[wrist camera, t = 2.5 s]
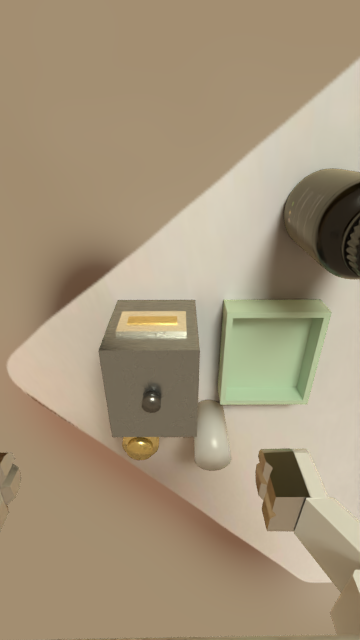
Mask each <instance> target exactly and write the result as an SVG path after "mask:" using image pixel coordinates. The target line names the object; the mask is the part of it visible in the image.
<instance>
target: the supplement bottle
mask: <svg viewBox="0 0 360 640" xmlns="http://www.w3.org/2000/svg"><path fill="white" fill-rule="evenodd" d="M284 223H285V227H286V230H287V232H288V234H289V236H290V237H291V238H292V239H293V240H294V241H295V242H296V243H297V244H298V245H299V246H300V247H301V248H302V249H303V250H304V251H306V252H307V253H308V254H309V255H310V256H311V257H312V258H313V259H314V260H316V261H317V262H318V263H319V264H320V265H321V266H322V267H324V268H325V269H326V270H327V271H329V272H330V273H332V274H333V275H335V276H338V277H341V278H345V279H360V172H355V171H349V170H343V169H333V168H332V169H323V170H319V171H316V172H314V173H312V174H310V175H308V176H307V177H305V178H304V179H303V180H302V181H300V182H299V183H298V184H297V185H296V187H295V188H294V189H293V190H292V192H291V194H290V195H289V197H288V199H287V202H286V205H285V210H284Z"/></svg>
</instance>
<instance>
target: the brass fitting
mask: <svg viewBox="0 0 360 640" xmlns="http://www.w3.org/2000/svg"><path fill="white" fill-rule="evenodd" d="M122 446H123V449H124V450H125V451H126V452H127V454H128V455H129V456H130V457H131V458H133V459H136V460H145V459H148V458H149V457H151V455H153V454H154V453H155V452H156V451H157V450H158V446H159V437H124V438H123V443H122Z"/></svg>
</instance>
